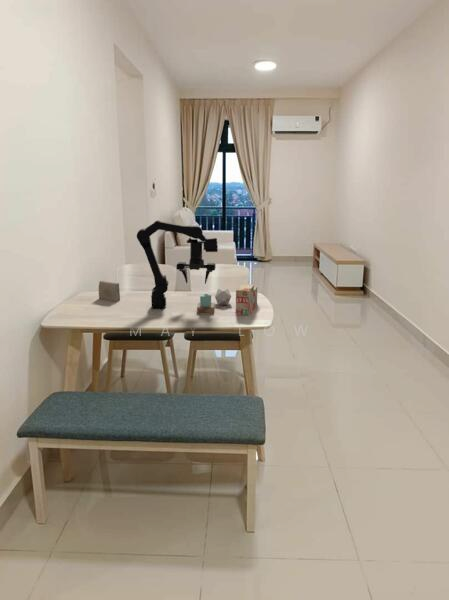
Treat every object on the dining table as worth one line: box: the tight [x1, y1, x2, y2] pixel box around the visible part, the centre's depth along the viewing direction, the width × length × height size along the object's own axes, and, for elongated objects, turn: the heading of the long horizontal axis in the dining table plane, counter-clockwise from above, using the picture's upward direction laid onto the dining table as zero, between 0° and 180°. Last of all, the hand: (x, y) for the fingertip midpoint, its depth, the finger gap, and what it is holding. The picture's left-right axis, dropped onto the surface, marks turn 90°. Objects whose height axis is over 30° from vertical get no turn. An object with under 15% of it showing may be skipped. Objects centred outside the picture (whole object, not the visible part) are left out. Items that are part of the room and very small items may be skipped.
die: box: [214, 288, 232, 306], centre depth 227 cm, size 8×9×10 cm
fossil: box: [98, 280, 121, 303], centre depth 233 cm, size 12×4×10 cm, turn 62°
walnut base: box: [196, 302, 215, 315], centre depth 215 cm, size 8×8×3 cm
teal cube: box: [199, 293, 212, 307], centre depth 214 cm, size 5×5×5 cm
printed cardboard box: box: [235, 283, 258, 316], centre depth 218 cm, size 21×6×12 cm, turn 165°
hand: (196, 283), depth 221 cm, fingers open, 9 cm apart
